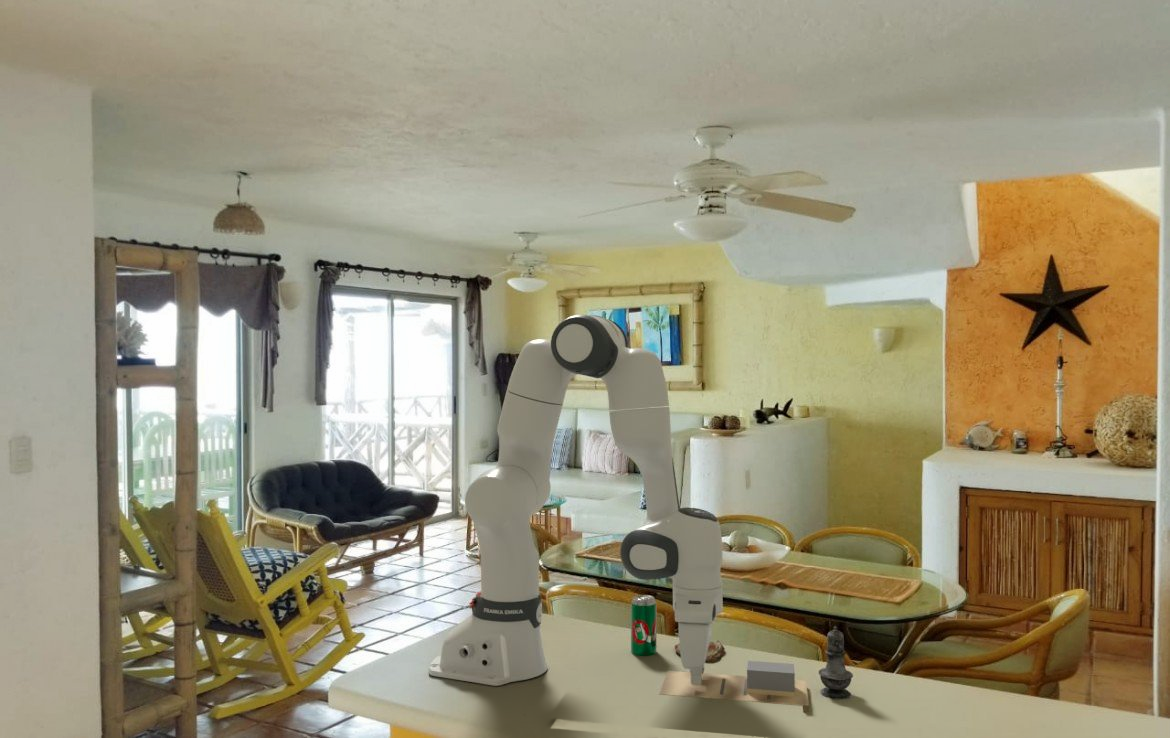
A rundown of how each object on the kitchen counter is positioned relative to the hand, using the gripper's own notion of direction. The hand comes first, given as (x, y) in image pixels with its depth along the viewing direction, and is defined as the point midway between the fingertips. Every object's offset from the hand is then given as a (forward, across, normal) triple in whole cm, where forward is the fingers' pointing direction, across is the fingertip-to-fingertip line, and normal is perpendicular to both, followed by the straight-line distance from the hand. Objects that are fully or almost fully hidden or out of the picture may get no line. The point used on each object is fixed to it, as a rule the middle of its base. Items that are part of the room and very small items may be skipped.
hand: (697, 678), depth 153 cm
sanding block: (+1, 0, +13) cm, 13 cm away
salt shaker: (+2, -4, +24) cm, 24 cm away
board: (+2, 0, +6) cm, 7 cm away
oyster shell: (+3, -19, -1) cm, 19 cm away
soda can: (+2, -16, -12) cm, 20 cm away
